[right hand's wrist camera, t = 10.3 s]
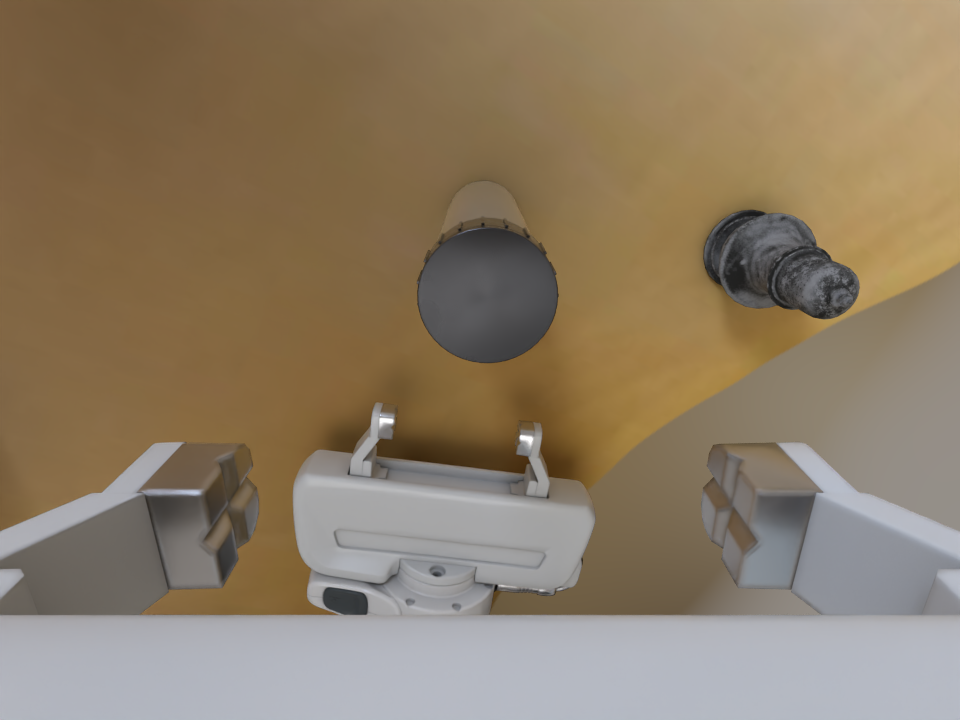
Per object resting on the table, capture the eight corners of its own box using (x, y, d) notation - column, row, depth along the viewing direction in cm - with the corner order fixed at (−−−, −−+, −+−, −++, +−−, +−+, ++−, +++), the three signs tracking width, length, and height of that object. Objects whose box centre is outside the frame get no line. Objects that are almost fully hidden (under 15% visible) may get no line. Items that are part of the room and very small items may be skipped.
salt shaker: (807, 237, 38) (941, 284, 27) (745, 308, 40) (848, 380, 29) (741, 186, 37) (853, 215, 26) (680, 263, 39) (761, 320, 28)
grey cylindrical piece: (514, 256, 39) (542, 360, 22) (445, 249, 39) (419, 348, 22) (523, 184, 37) (560, 237, 20) (450, 176, 37) (427, 224, 20)
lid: (542, 349, 24) (548, 371, 22) (417, 337, 24) (411, 358, 22) (561, 222, 22) (570, 233, 20) (425, 209, 22) (419, 218, 20)
